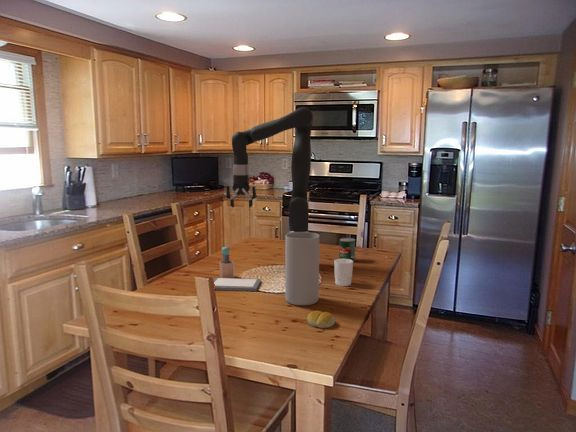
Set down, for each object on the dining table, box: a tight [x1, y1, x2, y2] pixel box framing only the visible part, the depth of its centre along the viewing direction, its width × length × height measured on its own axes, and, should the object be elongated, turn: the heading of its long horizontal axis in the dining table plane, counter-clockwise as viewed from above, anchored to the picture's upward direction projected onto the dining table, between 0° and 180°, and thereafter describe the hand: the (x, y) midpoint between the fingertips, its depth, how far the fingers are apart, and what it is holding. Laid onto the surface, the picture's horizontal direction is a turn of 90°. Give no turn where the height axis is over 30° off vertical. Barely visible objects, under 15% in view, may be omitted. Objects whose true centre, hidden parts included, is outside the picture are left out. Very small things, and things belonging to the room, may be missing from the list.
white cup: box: [333, 258, 354, 287], centre depth 183 cm, size 8×8×10 cm
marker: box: [221, 246, 230, 264], centre depth 191 cm, size 3×3×13 cm
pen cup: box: [218, 259, 235, 278], centre depth 192 cm, size 6×6×7 cm
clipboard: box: [213, 277, 262, 292], centre depth 181 cm, size 20×13×1 cm, turn 84°
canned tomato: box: [338, 237, 356, 263], centre depth 221 cm, size 8×8×11 cm
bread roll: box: [306, 310, 336, 329], centre depth 142 cm, size 8×9×4 cm
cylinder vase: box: [284, 231, 320, 307], centre depth 162 cm, size 12×12×25 cm
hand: (241, 207), depth 212 cm, fingers open, 8 cm apart
